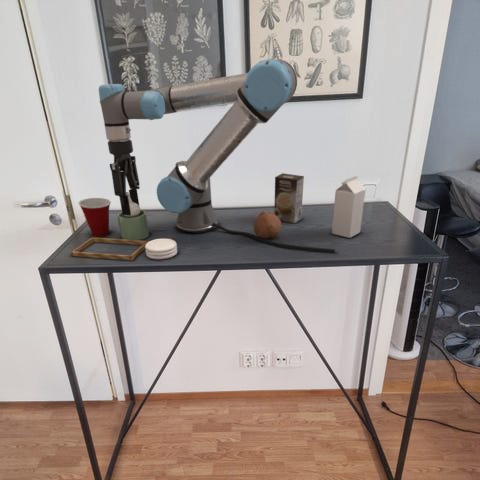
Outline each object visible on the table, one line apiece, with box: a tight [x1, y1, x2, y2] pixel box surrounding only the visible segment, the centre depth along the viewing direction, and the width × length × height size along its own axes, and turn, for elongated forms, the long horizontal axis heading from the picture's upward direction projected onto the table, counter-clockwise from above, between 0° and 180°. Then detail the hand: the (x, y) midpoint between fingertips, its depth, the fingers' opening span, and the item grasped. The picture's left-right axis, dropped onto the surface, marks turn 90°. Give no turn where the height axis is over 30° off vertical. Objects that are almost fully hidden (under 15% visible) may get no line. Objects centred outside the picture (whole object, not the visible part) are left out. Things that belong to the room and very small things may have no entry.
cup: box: [117, 209, 150, 241], centre depth 148 cm, size 10×10×8 cm
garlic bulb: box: [124, 191, 141, 217], centre depth 144 cm, size 6×6×8 cm
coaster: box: [144, 238, 178, 261], centre depth 135 cm, size 10×10×4 cm
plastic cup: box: [78, 197, 112, 238], centre depth 150 cm, size 11×11×12 cm
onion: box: [253, 211, 283, 241], centre depth 142 cm, size 10×9×10 cm
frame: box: [70, 237, 149, 261], centre depth 139 cm, size 21×13×1 cm, turn 76°
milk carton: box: [331, 174, 366, 239], centre depth 141 cm, size 7×7×19 cm
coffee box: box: [273, 172, 305, 224], centre depth 157 cm, size 9×6×16 cm
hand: (131, 211), depth 146 cm, fingers closed on garlic bulb, 6 cm apart
